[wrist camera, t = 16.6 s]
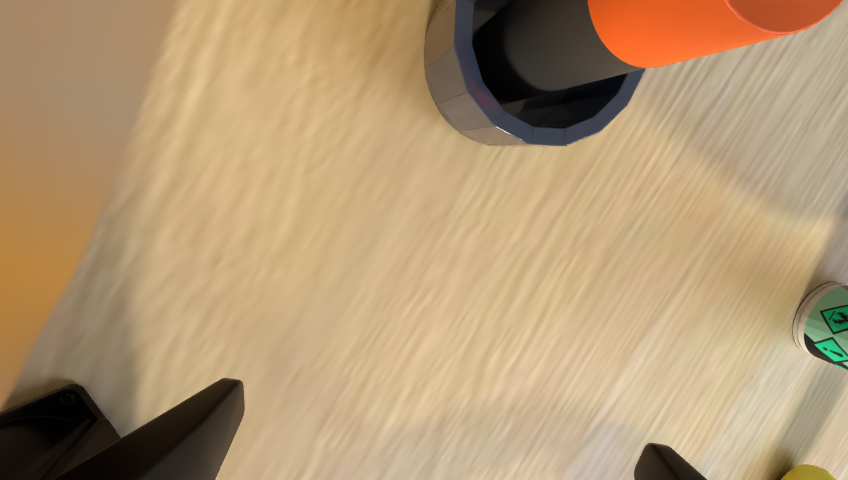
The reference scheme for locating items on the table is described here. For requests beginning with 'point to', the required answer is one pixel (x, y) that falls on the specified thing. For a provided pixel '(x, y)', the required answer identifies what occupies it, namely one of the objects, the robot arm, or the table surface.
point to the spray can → (824, 324)
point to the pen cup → (509, 121)
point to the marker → (621, 37)
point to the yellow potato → (808, 473)
